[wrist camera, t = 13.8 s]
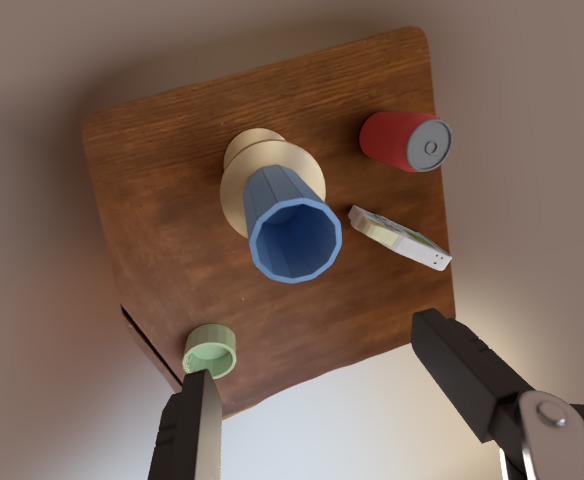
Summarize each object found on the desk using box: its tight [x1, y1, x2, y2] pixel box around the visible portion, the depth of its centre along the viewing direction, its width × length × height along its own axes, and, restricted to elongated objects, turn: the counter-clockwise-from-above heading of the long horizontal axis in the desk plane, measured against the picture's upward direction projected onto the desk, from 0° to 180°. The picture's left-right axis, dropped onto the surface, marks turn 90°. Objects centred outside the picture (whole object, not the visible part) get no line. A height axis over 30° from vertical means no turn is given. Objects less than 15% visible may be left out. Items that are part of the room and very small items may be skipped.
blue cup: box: [243, 165, 342, 283], centre depth 22 cm, size 6×6×10 cm
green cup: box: [182, 324, 236, 379], centre depth 49 cm, size 9×9×4 cm
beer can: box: [359, 111, 453, 172], centre depth 35 cm, size 7×7×12 cm
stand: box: [220, 128, 326, 238], centre depth 33 cm, size 10×10×15 cm
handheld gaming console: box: [348, 205, 452, 271], centre depth 43 cm, size 11×3×15 cm
